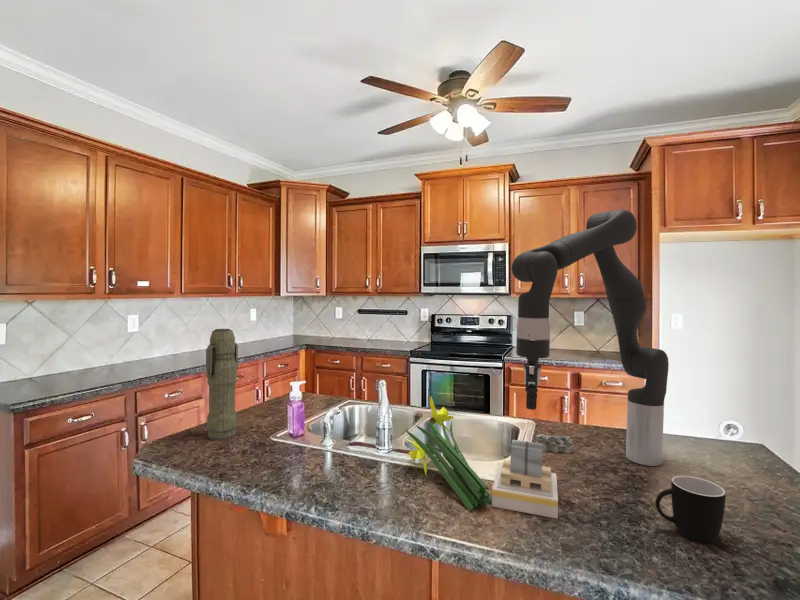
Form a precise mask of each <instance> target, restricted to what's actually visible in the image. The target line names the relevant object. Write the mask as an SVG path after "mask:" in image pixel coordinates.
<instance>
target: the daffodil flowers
mask: <svg viewBox="0 0 800 600" xmlns="http://www.w3.org/2000/svg"><path fill="white" fill-rule="evenodd" d="M429 405H430V411H431V412H430V413H431V417H430V418H429V420H428V424H429V428H430V429H431V431H432V432H430V431H428V430H427V429H425V428H423V427H422V426H419V425H415V426H416V428H417V429H418V430H420V431H421V433H422V434H423V435H425V436H426V437H427V438H428V439H430V440H431V442H432V443H434V445H435V446H436V447H434V445H432V443H430V442H429V440H426V443H424V442H423V441H422V440H421V439H420V438H418V437H417V436H416V435H415V434H413V433H412V432H410V431H408V430H407V429H405V432H406V434H405V435H406V436H407V437H409V438H410V439H411V440H410V439H407V438H406V440H407V441H408V442H410V443H412V444H411V445H412V447H414V448H415V449H413V450H411V451H408V455H409V457H410V459H411V460H412V461H416V460H419V459H421V460H422V465H423V469H424V474H425V476H427V472H428V466H427V460H429V459H430V460H431V462H432V463H433V464H434V467H436V469H437V470H438V471H439V473H440V474H441V475H442V477H443V478H444V479H445V480H446V482H447V483H448V484H449V486H450V488H452V490H453V491H454V493H455V494H456V495H457V496H458V498H459V499H460V501H461V503H463V505H464V506H465V507H466V508H467V510H468V512H470V513H471V512H472V511H473V509H474V508H478V506H479V505H480V506H481V507H482V508H486V506H487V505H488V504H489V505H490V504H492V497H491V494H490V492H488V490H489V489H490V488H489V487H488V486H487V484H485V482H484V481H483V480H482V479H481V478H480V477H479V475H478V474H477V473H476V472H475V471H474V469H472V468H471V466H470V464H468V461H467V460H466V458H465V456H464V455H463V453H462V450H461V449H460V448H459V445H458V444H457V442H456V440H455V434H454V433H453V421H452V420H453V419H454V418H455V417H454V416H453V415H449V413H450V412H448V409H447V408H445V406H443V407H441V409H440V410H439V411H438V412H437V409H436V405H435V402H434V400H433V396H432V395H430V398H429ZM450 420H451V422H450V427H449V429H448V428H447V426H446V425H445V424H444V422H448V421H450ZM434 424H437V425H438V426H439V428H440V429H441V431H442V432H443V435H442V434H441V433H440V432H439V431H438V429H437V428H436V427H435V426H434ZM447 432H449V435H450V437H451V440H452V442H453V444H452V442H451V440H450V438H449V436H448V433H447ZM443 436H444V437H443ZM437 447H438V448H437ZM426 459H427V460H426Z"/></svg>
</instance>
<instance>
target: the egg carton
mask: <svg viewBox="0 0 800 600" xmlns="http://www.w3.org/2000/svg"><path fill="white" fill-rule="evenodd" d="M535 439H536V441H535V443H541V444H542V453H543V452H544V453H546V452H553V453H556V454H557V453H559V452H560V453H564V454H571V453H573V447H575V446H574V443H573V441H572V439H571V437H570V436H569V435H566V436H561V435H556V434H555V435H548V434H543V433H540V434H537V435H535Z"/></svg>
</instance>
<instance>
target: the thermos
mask: <svg viewBox="0 0 800 600" xmlns="http://www.w3.org/2000/svg"><path fill="white" fill-rule="evenodd" d="M238 358H239V346H238V343H236V337H235V334H234V331H233V329H231V328H216V329H214V330H212V331H211V334H210V337H209V345H207V348H206V350H205V374H206V377H205V378H206V379H207V385H208V414H207V415H206V416H207V417H206V430H207V439H209V440H212V441H220V440H221V441H222V440H228V439H231V438H234V437H235V436H236V435H237V429H236V428H237V421H238V420H237V419H238V418H237V417H238V416H237V415H238V414H237V412H236V384H237V381H238V380H237V379H238V377H237V375H238V374H237V372H238V367H239V359H238Z"/></svg>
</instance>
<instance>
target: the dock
mask: <svg viewBox="0 0 800 600" xmlns="http://www.w3.org/2000/svg"><path fill="white" fill-rule="evenodd" d="M502 467H503V464H498V466H497V468H496V474H495V478H494V479H493V481H494V482H493V485H492V489H491V499H492V502H491V507H493V508H499V509H504V510H508V511H509V510H510V511H515V512H519V513H526V514H530V515H536V516H542V517H547V518H552V519H558V518H559V517H558V515H559V512H558V511H559V510H558V509H559V495H558V481H557V479H558V478H557V473H555V472H551V487H550V492H548V491H542V490H541V484H537V483H531V482H530V488H524V487H521V481H519V480H512V479H511V482H510V485H507V484H501V471H502Z"/></svg>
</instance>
